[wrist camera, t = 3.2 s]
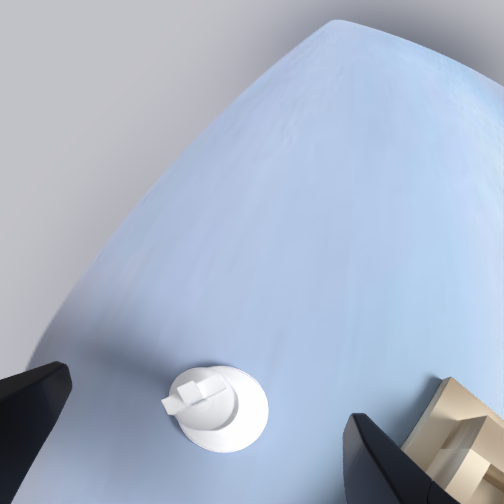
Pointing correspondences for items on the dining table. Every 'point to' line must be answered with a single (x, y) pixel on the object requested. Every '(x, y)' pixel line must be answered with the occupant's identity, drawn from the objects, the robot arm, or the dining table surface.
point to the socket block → (460, 445)
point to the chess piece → (218, 407)
